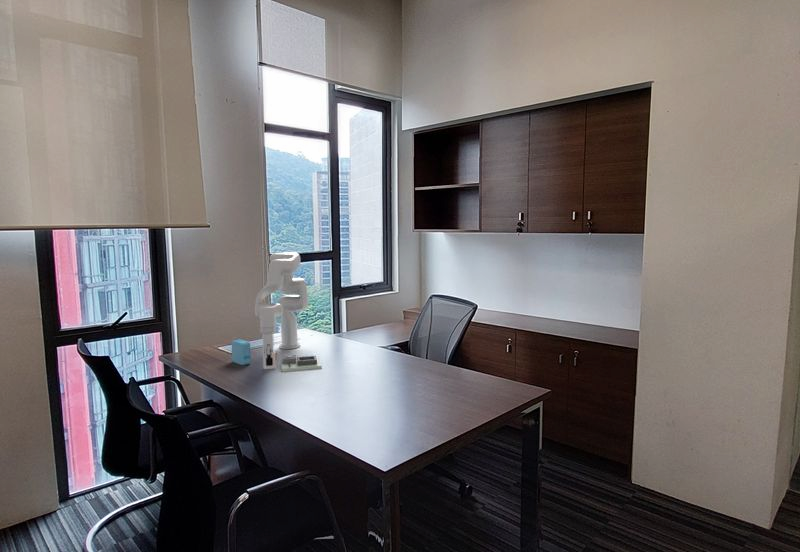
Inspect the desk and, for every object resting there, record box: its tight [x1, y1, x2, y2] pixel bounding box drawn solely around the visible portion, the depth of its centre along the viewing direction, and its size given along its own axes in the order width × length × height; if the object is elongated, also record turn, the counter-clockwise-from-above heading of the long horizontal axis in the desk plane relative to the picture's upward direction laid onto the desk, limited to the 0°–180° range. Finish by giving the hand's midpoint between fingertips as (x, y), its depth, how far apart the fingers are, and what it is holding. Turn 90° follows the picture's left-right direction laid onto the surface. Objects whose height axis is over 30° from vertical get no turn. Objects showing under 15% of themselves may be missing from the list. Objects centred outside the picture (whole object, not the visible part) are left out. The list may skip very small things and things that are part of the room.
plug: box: [262, 350, 278, 370], centre depth 249 cm, size 4×7×8 cm, turn 104°
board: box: [281, 354, 323, 373], centre depth 252 cm, size 16×20×5 cm
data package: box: [230, 338, 252, 366], centre depth 259 cm, size 12×4×12 cm, turn 48°
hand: (269, 363), depth 249 cm, fingers closed on plug, 3 cm apart
